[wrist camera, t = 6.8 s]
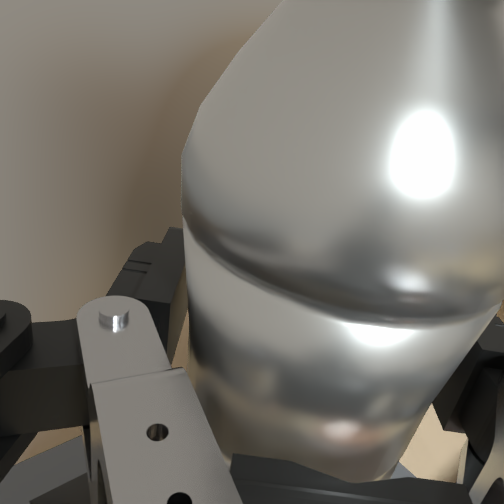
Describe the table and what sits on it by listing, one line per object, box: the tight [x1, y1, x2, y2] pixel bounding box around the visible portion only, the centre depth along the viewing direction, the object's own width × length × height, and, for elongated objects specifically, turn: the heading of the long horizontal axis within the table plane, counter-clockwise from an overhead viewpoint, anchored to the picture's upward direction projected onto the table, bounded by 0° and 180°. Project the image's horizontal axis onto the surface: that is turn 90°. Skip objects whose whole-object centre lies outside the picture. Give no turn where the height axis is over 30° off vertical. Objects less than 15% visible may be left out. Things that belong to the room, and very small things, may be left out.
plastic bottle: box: [181, 0, 504, 483], centre depth 11 cm, size 6×7×20 cm
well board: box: [0, 435, 416, 504], centre depth 18 cm, size 24×13×3 cm, turn 129°
